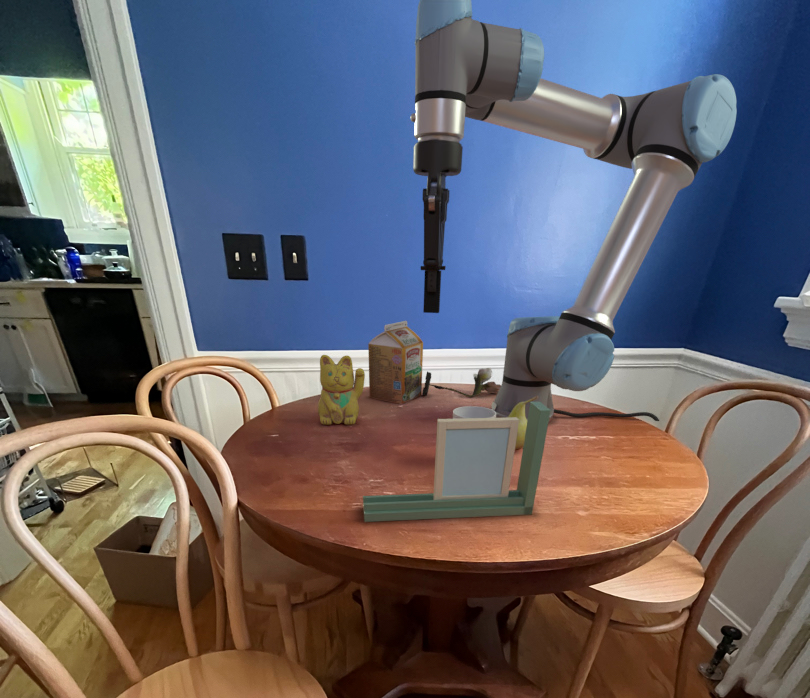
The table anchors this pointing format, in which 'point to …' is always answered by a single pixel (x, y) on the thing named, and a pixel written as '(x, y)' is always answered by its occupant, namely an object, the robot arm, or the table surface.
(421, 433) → the table surface
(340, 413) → the figurine
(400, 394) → the milk carton
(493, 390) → the artificial flower
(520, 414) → the fruit
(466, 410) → the cup
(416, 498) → the green l-shaped bracket
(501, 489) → the window pane
